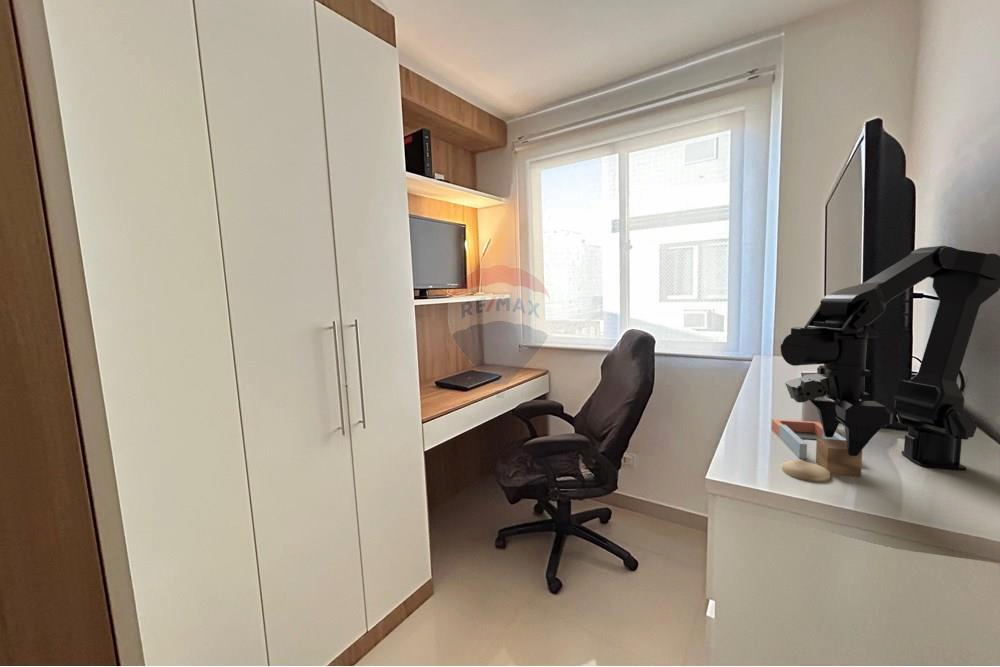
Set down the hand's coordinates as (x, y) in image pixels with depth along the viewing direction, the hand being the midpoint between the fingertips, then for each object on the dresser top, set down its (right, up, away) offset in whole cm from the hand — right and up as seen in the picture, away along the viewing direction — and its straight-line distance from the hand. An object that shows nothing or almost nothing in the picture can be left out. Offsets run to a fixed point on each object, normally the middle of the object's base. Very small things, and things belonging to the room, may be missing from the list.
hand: (839, 445), depth 74 cm
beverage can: (+15, -2, +25) cm, 29 cm away
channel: (+3, -4, +10) cm, 11 cm away
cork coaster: (-6, -5, 0) cm, 8 cm away
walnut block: (0, -5, +1) cm, 5 cm away
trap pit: (+6, -3, +18) cm, 19 cm away
